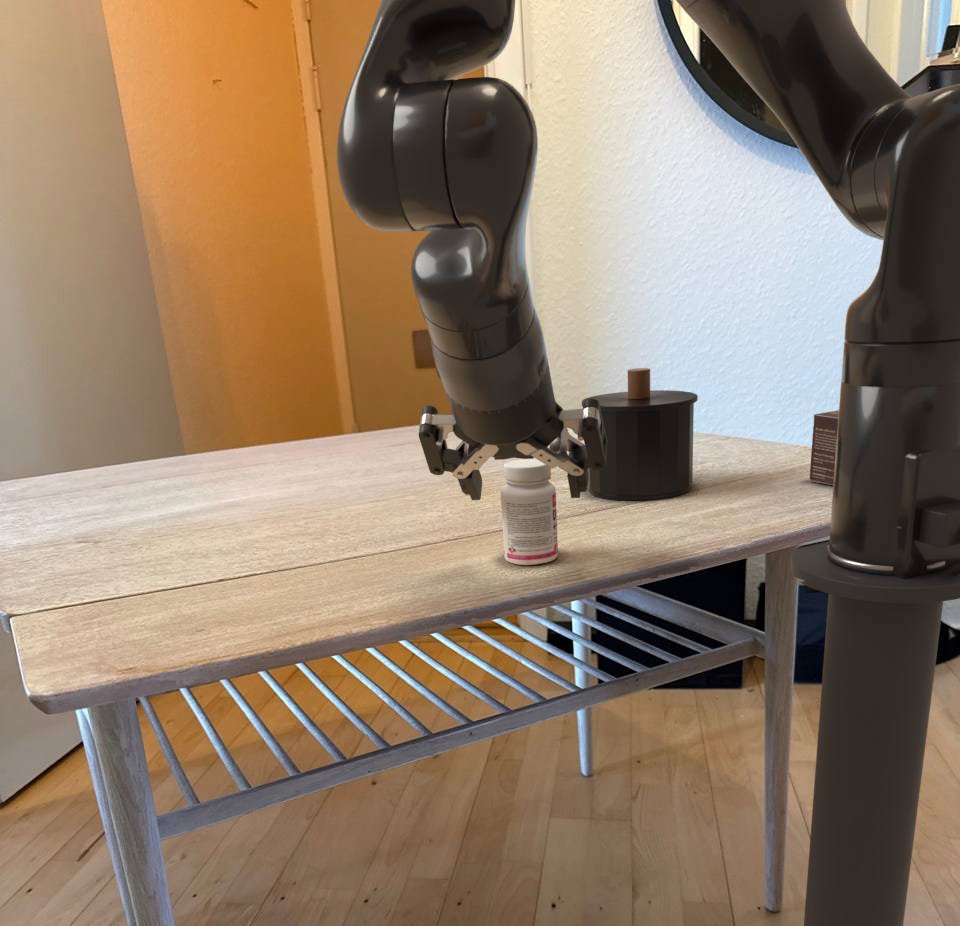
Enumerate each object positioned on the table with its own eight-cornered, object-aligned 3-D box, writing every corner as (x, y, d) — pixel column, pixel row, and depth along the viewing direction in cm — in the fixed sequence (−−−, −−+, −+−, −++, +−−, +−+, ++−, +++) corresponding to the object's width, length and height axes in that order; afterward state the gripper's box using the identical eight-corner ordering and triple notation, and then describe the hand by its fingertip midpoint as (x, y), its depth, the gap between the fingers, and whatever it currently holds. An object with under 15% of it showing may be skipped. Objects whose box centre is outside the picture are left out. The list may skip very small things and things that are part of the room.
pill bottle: (567, 560, 79) (564, 463, 76) (517, 569, 78) (512, 471, 75) (544, 547, 84) (540, 455, 81) (496, 556, 82) (490, 462, 79)
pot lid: (721, 406, 97) (722, 366, 95) (620, 421, 92) (619, 379, 91) (655, 397, 107) (655, 360, 106) (561, 409, 103) (560, 371, 102)
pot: (712, 489, 100) (714, 401, 97) (622, 506, 96) (621, 414, 93) (654, 473, 110) (654, 392, 107) (570, 487, 106) (567, 403, 103)
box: (849, 473, 103) (854, 406, 100) (892, 481, 98) (899, 411, 95) (807, 481, 101) (812, 413, 98) (850, 490, 96) (855, 419, 93)
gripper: (598, 315, 63) (612, 450, 78) (401, 327, 66) (449, 455, 81) (593, 404, 60) (608, 527, 75) (387, 412, 63) (440, 529, 78)
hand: (526, 490), depth 78 cm, fingers open, 8 cm apart
